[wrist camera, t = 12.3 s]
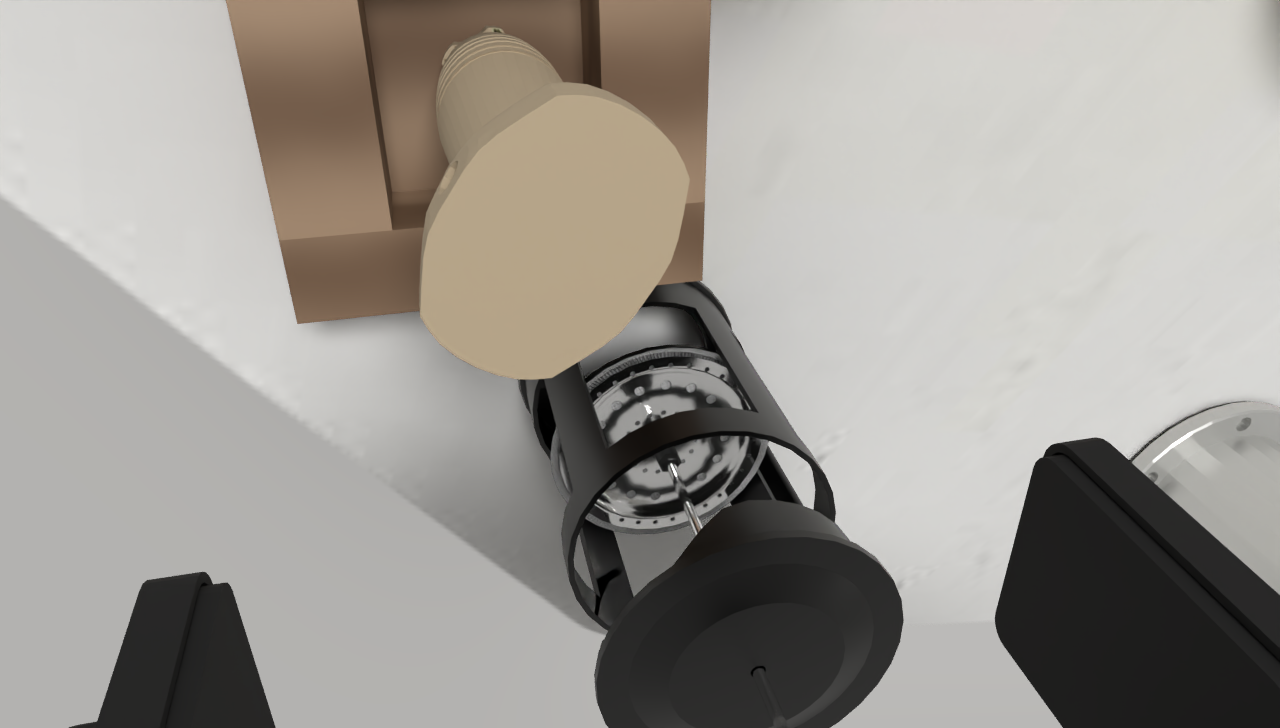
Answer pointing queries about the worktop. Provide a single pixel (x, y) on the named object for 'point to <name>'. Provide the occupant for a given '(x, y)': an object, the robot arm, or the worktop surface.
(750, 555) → the french press
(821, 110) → the worktop surface
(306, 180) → the socket block
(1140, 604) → the robot arm
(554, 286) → the handle
